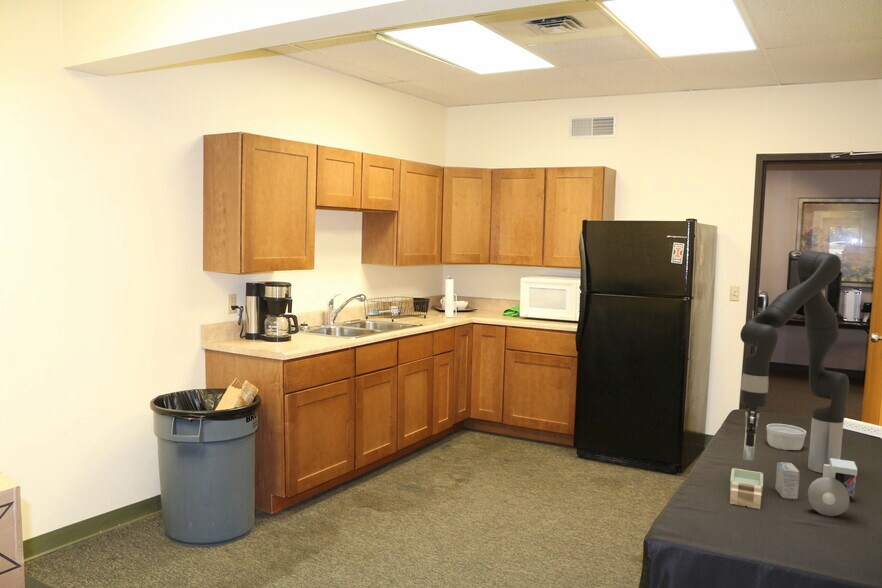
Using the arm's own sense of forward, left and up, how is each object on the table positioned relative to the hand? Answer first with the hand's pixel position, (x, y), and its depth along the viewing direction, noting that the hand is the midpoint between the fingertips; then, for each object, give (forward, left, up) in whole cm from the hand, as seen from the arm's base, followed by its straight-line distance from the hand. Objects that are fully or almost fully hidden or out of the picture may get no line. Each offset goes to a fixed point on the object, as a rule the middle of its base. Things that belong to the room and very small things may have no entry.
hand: (749, 444), depth 217 cm
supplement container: (-5, +26, -14) cm, 30 cm away
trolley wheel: (+11, +21, -13) cm, 28 cm away
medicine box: (+1, +11, -14) cm, 17 cm away
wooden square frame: (+14, 0, -13) cm, 19 cm away
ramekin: (-54, +12, -14) cm, 57 cm away
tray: (0, 0, -13) cm, 13 cm away
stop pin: (0, 0, -5) cm, 5 cm away
